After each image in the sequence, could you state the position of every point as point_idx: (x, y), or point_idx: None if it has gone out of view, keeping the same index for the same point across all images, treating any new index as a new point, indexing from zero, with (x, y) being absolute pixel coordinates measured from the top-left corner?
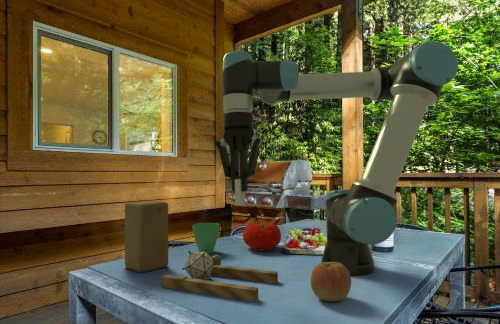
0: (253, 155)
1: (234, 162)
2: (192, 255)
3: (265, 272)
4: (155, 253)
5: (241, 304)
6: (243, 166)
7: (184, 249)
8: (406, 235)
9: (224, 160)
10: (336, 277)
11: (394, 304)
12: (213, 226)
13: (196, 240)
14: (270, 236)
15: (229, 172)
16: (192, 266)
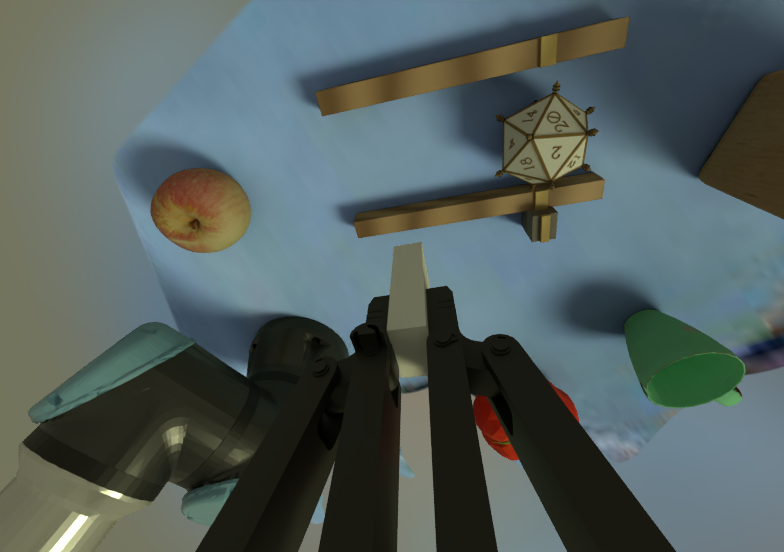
0: (221, 521)
1: (434, 444)
2: (572, 127)
3: (378, 221)
4: (766, 141)
5: (336, 57)
6: (347, 412)
7: (725, 319)
8: (324, 515)
9: (560, 460)
10: (158, 189)
11: (140, 231)
12: (654, 373)
13: (689, 326)
14: (487, 404)
15: (490, 375)
16: (545, 99)
